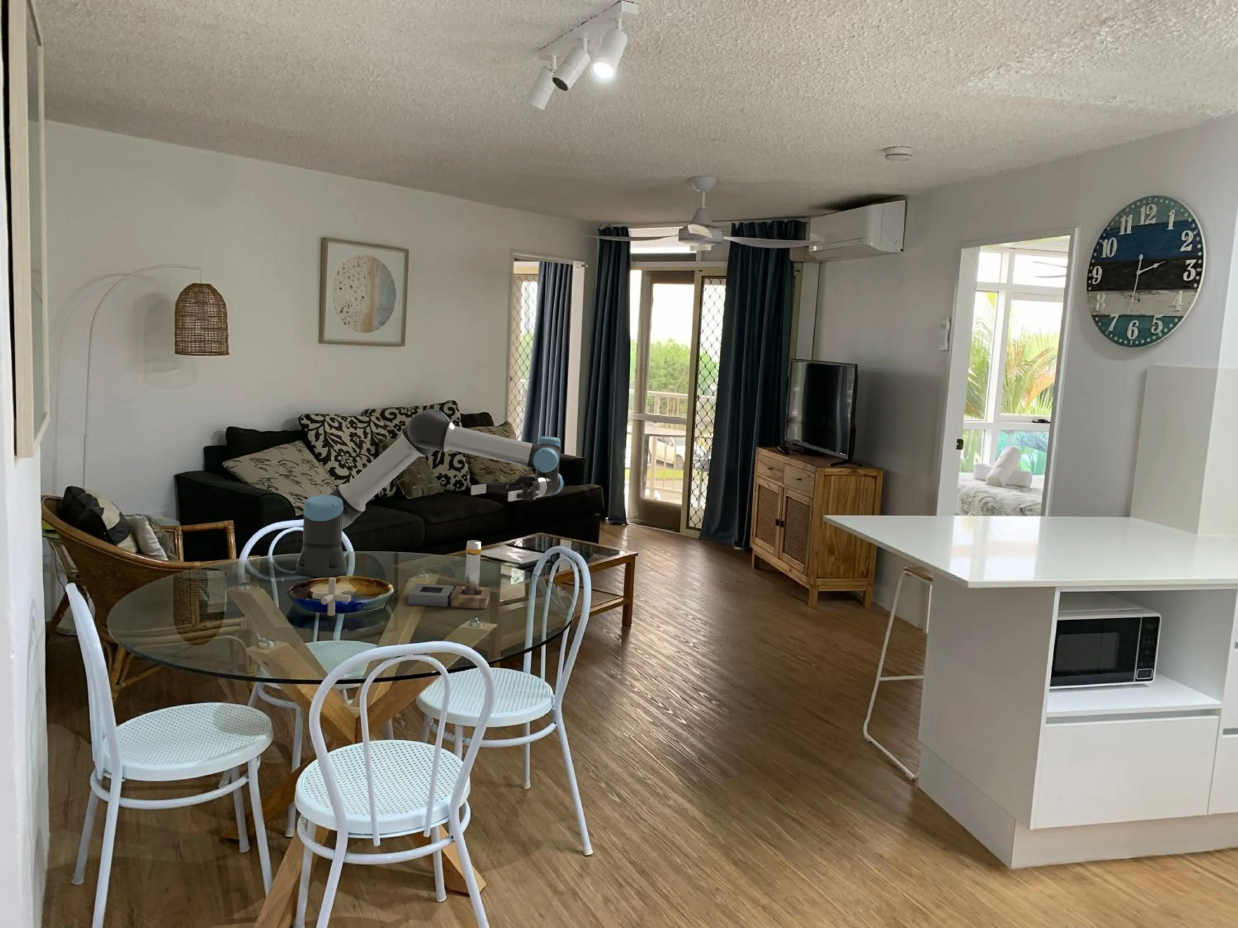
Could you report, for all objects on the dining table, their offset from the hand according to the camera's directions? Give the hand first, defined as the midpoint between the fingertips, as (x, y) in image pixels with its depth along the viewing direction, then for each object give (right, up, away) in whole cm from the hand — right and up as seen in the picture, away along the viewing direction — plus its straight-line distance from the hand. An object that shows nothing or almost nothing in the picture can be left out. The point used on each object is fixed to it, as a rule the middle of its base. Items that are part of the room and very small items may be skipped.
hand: (490, 493), depth 274 cm
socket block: (-16, -31, -8) cm, 36 cm away
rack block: (-5, -31, -7) cm, 33 cm away
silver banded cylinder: (-5, -31, -7) cm, 33 cm away
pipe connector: (-39, -32, -29) cm, 58 cm away
